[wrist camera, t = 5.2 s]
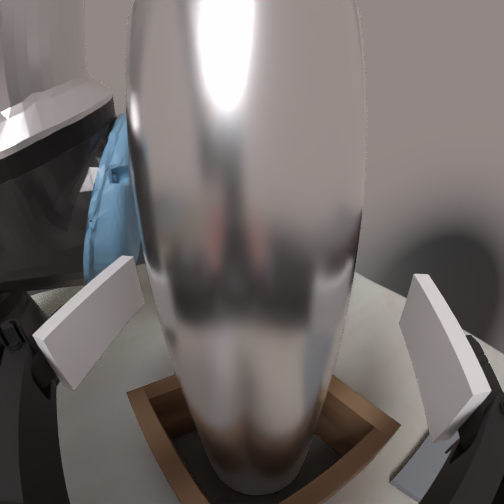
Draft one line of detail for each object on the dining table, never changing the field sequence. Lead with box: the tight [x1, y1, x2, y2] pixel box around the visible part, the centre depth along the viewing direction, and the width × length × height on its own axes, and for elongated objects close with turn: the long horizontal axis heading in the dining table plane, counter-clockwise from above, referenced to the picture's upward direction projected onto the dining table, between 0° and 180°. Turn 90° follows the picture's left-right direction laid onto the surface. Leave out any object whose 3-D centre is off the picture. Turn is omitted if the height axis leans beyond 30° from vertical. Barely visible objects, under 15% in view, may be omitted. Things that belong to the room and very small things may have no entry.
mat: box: [389, 431, 459, 502], centre depth 10 cm, size 13×13×1 cm
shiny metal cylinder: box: [125, 0, 367, 495], centre depth 10 cm, size 6×6×25 cm
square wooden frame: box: [127, 374, 401, 504], centre depth 14 cm, size 12×12×6 cm
